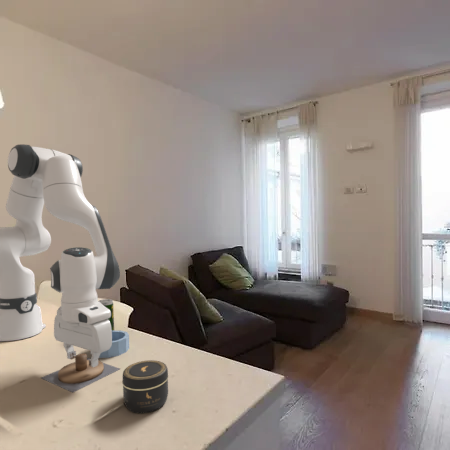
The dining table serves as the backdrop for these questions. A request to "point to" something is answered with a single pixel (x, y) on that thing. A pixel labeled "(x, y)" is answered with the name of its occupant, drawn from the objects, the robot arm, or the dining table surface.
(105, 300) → the beer can
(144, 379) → the jar
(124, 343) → the bowl
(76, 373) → the lid
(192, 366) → the dining table surface
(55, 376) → the mat
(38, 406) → the dining table surface
